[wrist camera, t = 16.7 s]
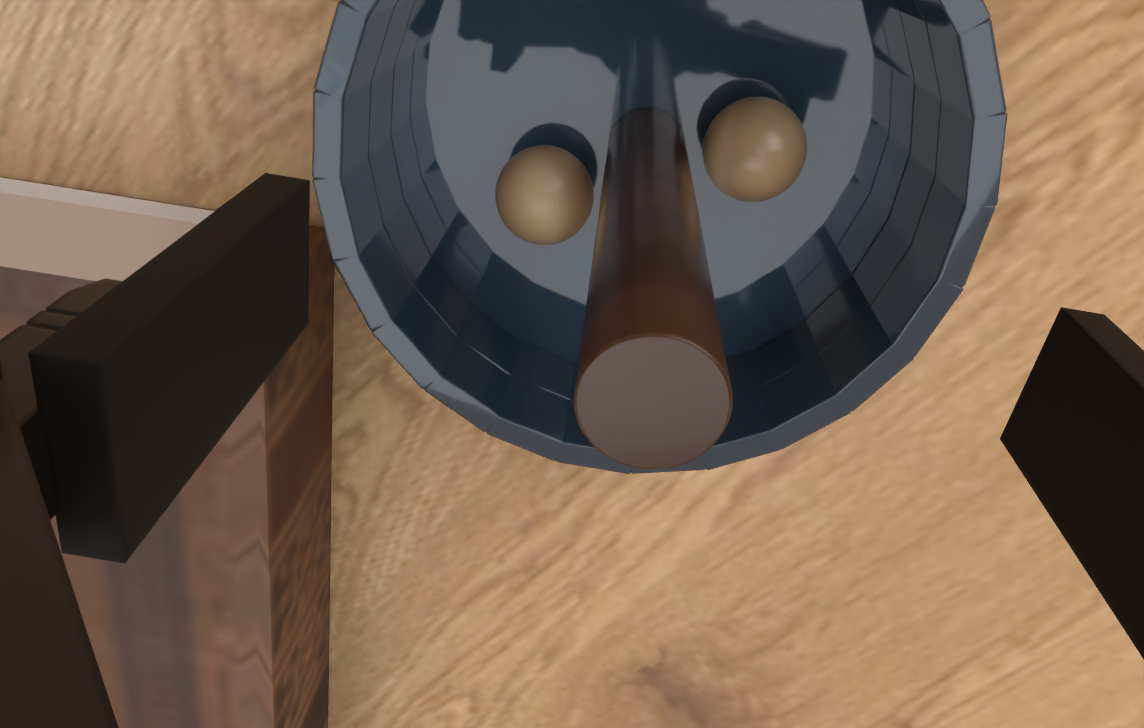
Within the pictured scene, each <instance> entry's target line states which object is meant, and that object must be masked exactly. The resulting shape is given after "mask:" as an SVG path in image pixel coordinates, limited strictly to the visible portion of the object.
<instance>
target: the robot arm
mask: <svg viewBox="0 0 1144 728" xmlns="http://www.w3.org/2000/svg"><path fill="white" fill-rule="evenodd" d="M309 195H310V180H304V179H298V178H292V177H286V176H280V175H274V174H268V173H265V174H263V175H262V176H261V177H259V178H258V179H257V180H255V181H254V182H253V183H251V184H250V185H249V186H247V187H246V188H245V189H244V190H242V191H241V192H240V193H238V194H237V195H236V196H234V197H233V198H232V199H230V200H229V201H228V202H226V203H225V204H224V205H222V206H221V207H220V208H218V209H217V210H216V211H215V212H213V213H212V214H211V215H209V216H208V217H207V218H205V219H204V220H203V221H201V222H200V223H199V224H197V225H196V226H195V227H193V228H192V229H191V230H190V231H188V232H187V233H186V234H184V235H183V236H182V237H180V238H179V239H178V240H176V241H175V242H174V243H172V244H171V245H170V246H168V247H167V248H166V249H164V250H163V251H162V252H161V253H159V254H158V255H157V256H155V257H154V258H153V259H151V260H150V261H149V262H147V263H146V264H145V265H143V266H142V267H141V268H139V269H138V270H137V271H135V272H134V273H133V274H132V275H130V276H129V277H128V278H126V279H125V280H124V281H118V280H112V279H106V278H105V279H102V280H99V281H96V282H93V283H90V284H87V285H85V286H82V287H79V288H76V289H73V290H70V291H69V292H67V293H66V294H64V295H63V296H62V297H60V298H59V299H57V300H56V301H54V302H53V303H52V304H50V305H49V306H47V307H46V311H40V312H39V313H37V314H36V315H35V316H33V317H32V318H30V319H29V320H28V321H27V323H26V325H20V326H19V327H18V328H16V329H15V330H13V331H12V332H10V333H9V334H8V335H6V336H5V337H3V338H2V339H1V340H0V728H119V727H118V724H117V721H116V718H115V715H114V712H113V709H112V706H111V703H110V700H109V697H108V694H107V691H106V688H105V684H104V681H103V678H102V675H101V672H100V669H99V666H98V663H97V660H96V657H95V654H94V651H93V648H92V645H91V642H90V639H89V636H88V633H87V630H86V627H85V624H84V621H83V618H82V615H81V612H80V609H79V606H78V603H77V599H76V596H75V593H74V590H73V587H72V584H71V581H70V578H69V575H68V572H67V569H66V566H65V563H64V560H63V557H62V554H61V551H62V553H64V554H70V555H76V556H83V557H89V558H95V559H101V560H107V561H113V562H119V563H126V562H127V561H128V559H129V558H130V557H131V555H132V554H133V553H134V551H135V550H136V549H137V547H138V546H139V545H140V544H141V542H142V541H143V540H144V538H145V537H146V536H147V534H148V533H149V532H150V530H151V529H152V528H153V526H154V525H155V524H156V523H157V521H158V520H159V519H160V517H161V516H162V515H163V513H164V512H165V511H166V509H167V508H168V507H169V506H170V504H171V503H172V502H173V500H174V499H175V498H176V496H177V495H178V494H179V492H180V491H181V490H182V488H183V487H184V486H185V485H186V483H187V482H188V481H189V479H190V478H191V477H192V475H193V474H194V473H195V471H196V470H197V469H198V468H199V466H200V465H201V464H202V462H203V461H204V460H205V458H206V457H207V456H208V454H209V453H210V452H211V450H212V449H213V448H214V447H215V445H216V444H217V443H218V441H219V440H220V439H221V437H222V436H223V435H224V433H225V432H226V431H227V430H228V428H229V427H230V426H231V424H232V423H233V422H234V420H235V419H236V418H237V416H238V415H239V414H240V413H241V411H242V410H243V409H244V407H245V406H246V405H247V403H248V402H249V401H250V399H251V398H252V397H253V395H254V394H255V393H256V392H257V390H258V389H259V388H260V386H261V385H262V384H263V382H264V381H265V380H266V378H267V377H268V376H269V375H270V373H271V372H272V371H273V369H274V368H275V367H276V365H277V364H278V363H279V361H280V360H281V359H282V357H283V356H284V355H285V354H286V352H287V351H288V350H289V348H290V347H291V346H292V344H293V343H294V342H295V340H296V339H297V338H298V337H299V335H300V334H301V333H302V331H303V330H304V329H305V327H306V326H307V325H308V323H309ZM1000 440H1001V441H1002V443H1003V444H1004V446H1005V447H1006V449H1007V450H1008V452H1009V453H1010V455H1011V456H1012V458H1013V460H1014V461H1015V463H1016V464H1017V466H1018V467H1019V469H1020V470H1021V472H1022V473H1023V475H1024V476H1025V478H1026V479H1027V481H1028V483H1029V484H1030V486H1031V487H1032V489H1033V490H1034V492H1035V493H1036V495H1037V496H1038V498H1039V499H1040V501H1041V502H1042V504H1043V506H1044V507H1045V509H1046V510H1047V512H1048V513H1049V515H1050V516H1051V518H1052V519H1053V521H1054V522H1055V524H1056V525H1057V527H1058V529H1059V530H1060V532H1061V533H1062V535H1063V536H1064V538H1065V539H1066V541H1067V542H1068V544H1069V545H1070V547H1071V548H1072V550H1073V552H1074V553H1075V555H1076V556H1077V558H1078V559H1079V561H1080V562H1081V564H1082V565H1083V567H1084V568H1085V570H1086V571H1087V573H1088V575H1089V576H1090V578H1091V579H1092V581H1093V582H1094V584H1095V585H1096V587H1097V588H1098V590H1099V591H1100V593H1101V594H1102V596H1103V598H1104V599H1105V601H1106V602H1107V604H1108V605H1109V607H1110V608H1111V610H1112V611H1113V613H1114V614H1115V616H1116V617H1117V619H1118V621H1119V622H1120V624H1121V625H1122V627H1123V628H1124V630H1125V631H1126V633H1127V634H1128V636H1129V637H1130V639H1131V640H1132V642H1133V644H1134V645H1135V647H1136V648H1137V650H1138V651H1139V653H1140V654H1141V656H1142V657H1143V659H1144V351H1143V350H1142V349H1141V348H1140V347H1139V346H1138V345H1137V344H1136V343H1135V342H1134V341H1132V340H1131V339H1130V338H1129V337H1128V336H1127V335H1126V334H1125V333H1124V332H1123V331H1122V330H1121V329H1119V328H1118V327H1117V326H1116V325H1115V324H1114V323H1113V322H1112V321H1111V320H1110V319H1109V318H1107V317H1106V316H1105V315H1103V314H1097V313H1092V312H1086V311H1080V310H1074V309H1068V308H1062V307H1061V309H1060V311H1059V313H1058V315H1057V317H1056V319H1055V321H1054V324H1053V326H1052V328H1051V330H1050V332H1049V334H1048V336H1047V339H1046V341H1045V343H1044V345H1043V347H1042V349H1041V352H1040V354H1039V356H1038V358H1037V360H1036V362H1035V364H1034V367H1033V369H1032V371H1031V373H1030V375H1029V377H1028V380H1027V382H1026V384H1025V386H1024V388H1023V390H1022V392H1021V395H1020V397H1019V399H1018V401H1017V403H1016V405H1015V407H1014V410H1013V412H1012V414H1011V416H1010V418H1009V420H1008V423H1007V425H1006V427H1005V429H1004V431H1003V433H1002V435H1001V438H1000ZM55 515H56V521H57V527H58V533H59V539H60V545H61V551H60V548H59V545H58V542H57V539H56V536H55V533H54V530H53V527H52V524H51V521H50V520H51V519H52V518H53V517H54V516H55Z"/></svg>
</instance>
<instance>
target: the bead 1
mask: <svg viewBox="0 0 1144 728" xmlns="http://www.w3.org/2000/svg"><path fill="white" fill-rule="evenodd" d="M495 199H496V206H497V210H498V213H499V215H500V217H501V219H502V221H503V222H504V224H505V225H506V227H507V228H508V229H509V230H510V231H511V232H512V233H513V234H515V235H516V236H517V237H519V238H520V239H522V240H524V241H527V242H529V243H533V244H537V245H552V244H557V243H560V242H563V241H565V240H567V239H569V238H571V237H572V236H574V235H575V234H576V233H577V232H578V231H579V230H580V229H581V228H582V227H583V226H584V224H585V223H586V221H587V220H588V218H589V216H590V213H591V210H592V207H593V200H594V190H593V184H592V181H591V177H590V175H589V173H588V171H587V169H586V168H585V166H584V165H583V164H582V162H581V161H580V160H579V159H578V158H577V157H576V156H574V155H573V154H572V153H570V152H569V151H567V150H565V149H562V148H559V147H556V146H551V145H538V146H532V147H529V148H526V149H524V150H522V151H520V152H518V153H517V154H515V155H514V156H513V157H512V158H511V159H510V160H509V161H508V162H507V163H506V164H505V166H504V167H503V169H502V170H501V172H500V175H499V177H498V180H497V184H496V190H495Z"/></svg>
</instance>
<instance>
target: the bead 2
mask: <svg viewBox="0 0 1144 728" xmlns="http://www.w3.org/2000/svg"><path fill="white" fill-rule="evenodd" d="M806 155H807V140H806V134H805V131H804V128H803V126H802V123H801V122H800V120H799V118H798V117H797V116H796V114H795V113H794V112H793V111H792V110H791V109H790V108H789V107H787V106H786V105H784V104H783V103H781V102H779V101H777V100H774V99H771V98H767V97H748V98H743V99H740V100H737V101H735V102H733V103H731V104H729V105H728V106H726V107H725V108H724V109H722V110H721V111H720V112H719V113H718V114H717V115H716V116H715V118H714V119H713V120H712V122H711V123H710V125H709V127H708V129H707V131H706V134H705V137H704V141H703V148H702V156H703V162H704V167H705V170H706V172H707V174H708V176H709V178H710V180H711V181H712V182H713V184H714V185H715V186H716V187H717V188H718V189H719V190H720V191H721V192H723V193H724V194H726V195H728V196H729V197H731V198H734V199H736V200H740V201H745V202H759V201H765V200H768V199H771V198H773V197H776V196H778V195H779V194H781V193H783V192H784V191H785V190H787V189H788V188H789V187H790V186H791V185H792V184H793V183H794V181H795V180H796V179H797V178H798V176H799V174H800V173H801V171H802V168H803V166H804V163H805V160H806Z"/></svg>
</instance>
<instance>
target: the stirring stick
mask: <svg viewBox="0 0 1144 728" xmlns="http://www.w3.org/2000/svg"><path fill="white" fill-rule="evenodd" d="M732 400H733V398H732V389H731V384H730V378H729V373H728V368H727V362H726V357H725V351H724V346H723V341H722V335H721V330H720V325H719V319H718V314H717V309H716V303H715V298H714V293H713V287H712V282H711V276H710V271H709V266H708V260H707V255H706V250H705V244H704V239H703V234H702V228H701V223H700V217H699V212H698V207H697V201H696V196H695V191H694V185H693V180H692V175H691V169H690V164H689V159H688V153H687V148H686V142H685V137H684V133H683V131H682V129H681V127H680V125H679V124H678V122H677V121H676V120H675V119H674V118H673V117H672V116H671V115H669V114H668V113H666V112H665V111H662V110H660V109H656V108H639V109H635V110H633V111H630V112H628V113H627V114H625V115H624V116H623V117H621V118H620V119H619V120H618V121H617V123H616V124H615V125H614V127H613V129H612V131H611V133H610V136H609V140H608V148H607V155H606V163H605V170H604V177H603V185H602V192H601V199H600V207H599V214H598V221H597V229H596V236H595V243H594V251H593V258H592V266H591V273H590V280H589V288H588V295H587V302H586V310H585V317H584V324H583V332H582V339H581V347H580V354H579V361H578V369H577V376H576V383H575V391H574V410H575V415H576V418H577V421H578V424H579V426H580V428H581V430H582V432H583V433H584V435H585V436H586V438H587V439H588V440H589V442H590V443H591V444H592V445H593V446H594V447H595V448H596V449H597V450H599V451H600V452H601V453H602V454H604V455H605V456H607V457H609V458H610V459H612V460H614V461H616V462H618V463H621V464H624V465H627V466H630V467H635V468H640V469H666V468H671V467H676V466H679V465H682V464H685V463H688V462H690V461H692V460H694V459H696V458H697V457H699V456H701V455H702V454H704V453H705V452H706V451H707V450H709V449H710V448H711V447H712V446H713V445H714V444H715V443H716V442H717V440H718V439H719V438H720V436H721V435H722V434H723V432H724V430H725V428H726V426H727V424H728V421H729V419H730V415H731V411H732Z"/></svg>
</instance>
